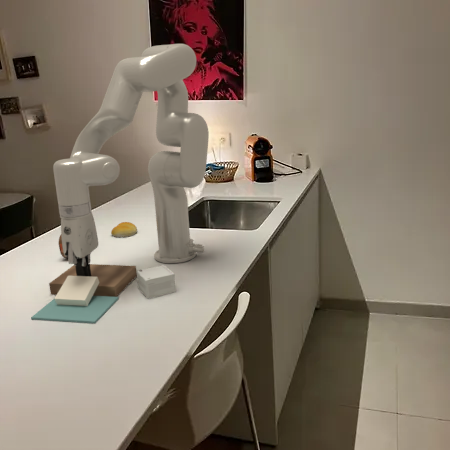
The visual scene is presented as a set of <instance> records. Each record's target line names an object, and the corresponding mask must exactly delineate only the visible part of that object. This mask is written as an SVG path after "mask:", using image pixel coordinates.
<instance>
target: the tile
mask: <svg viewBox="0 0 450 450" xmlns="http://www.w3.org/2000/svg"><path fill="white" fill-rule="evenodd" d="M99 283H100V282H99V280H98V277H91V276H68V277H67V278H66V280H65V282H64V283H63V285H62V287H61V288H60V290H59V292H58V293H57V295H55V297H54V298H55V301H56V303H57V304H58V305H76V306H88V304H89V302H90V300H91V298H92V296H93V294H94V292H95V290H96V288H97V286H98V284H99Z"/></svg>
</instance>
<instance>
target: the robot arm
mask: <svg viewBox="0 0 450 450" xmlns="http://www.w3.org/2000/svg"><path fill="white" fill-rule="evenodd" d="M196 67H197V56H196V53H195V51H194V49H192V47H190V46H189V45H188V44H185V43H173V44H171V43H170V44H161V45H153V46H149V47H147V48H145V49H144V50H143V52H142V53H141V56H135V57H126V58H124V59H122V60H120V61H118V62H117V64H116V65H115V68H114V70H113V73H112V76H111V79H110V81H109V84H108V86H107V89H106V92H105V95H104V96H103V100H102V102H101V103H102V104H101V105H100V108H99V110H98V112H97V113H96V114H95V115H94V116H93V117H92V118H91V119H90V120H89V122H88V123H87V124H86V125H85V127H84V128H83V129H82V130H81V132H80V133H79V135H78V136H77V138H76V140H75V143H74V145H73V148H72V150H71V154H70V157H69V158H63V159H59V160H56V161H55V162H54V164H53V167H52V171H53V175H54V176H53V177H54V184H55V190H56V198H57V203H58V213H59V218H60V233H61V234H60V235H61V237H62V246H63V252H64V255H65V257H67V258H66V259H67V261H68V265H74V266H75V267H76V274H77V276H91V269H90V264H91V253H92V252H94V250H96V249H97V248H98V247H99V238H98V232H97V226H96V222H95V217H94V215H93V212H92V206H91V205H92V204H91V199H90V197H91V196H90V189H89V188H90V187H95V186H96V187H97V186H106V185H110V184H112V183H114V182H115V181H116V180H117V179H118V178H119V176H120V172H121V168H120V164H119V162H118V160H117V159H115V158H114V157H113V156H110V155H108V154H101V153H100V151H101V149H102V147H103V146H104V144H105V143H106V142H107V141H108V140H109V139H110V138H111V137H113V136H114V135H116V134H117V133H119V132H121V131H124V130H125V129H126V128H128V127H129V126H130V125H132V123H133V121H134V118H135V115H136V112H137V109H138V106H139V103H140V101H141V98H142V96H143V93H144V92H151V93H152V92H157V108H156V111H157V112H156V124H155V136H156V140H157V141H158V142H159V143H160V144H161V145H163V146H166V147H172V148H180V149H179V150H180V151H170V150H164V151H161V150H160V151H158V152H156V153H155V154H153V155H152V156H151V157H150V159H149V161H148V166H147V173H148V175H149V176H148V177H149V179H150V183H151V187H152V191H153V198H154V210H155V221H156V231H157V241H158V250H156V251H155V252H154V254H153V256H154V260H155V261H157V262H159V263H163V264H178V263H185V262H188V261H190V260H193V259H194V258H195V257H196V256H197V253H199V254H204V253H205V246H203V244H201V243H198V244H197V243H196V244H195V243H194V239H193V238H191V235H190V233H191V232H190V221H189V207H188V205H189V204H188V195H187V192H186V189H194V188H197V187H198V186H200V185H201V183H202V182H203V181H204V179H205V175H206V170H207V163H208V162H207V160H208V149H209V148H208V147H209V128H208V123H207V121H206V119H205V118H204V117H203V116H202V115H200V114H198V113H195V112H189V92H188V89H187V86H186V84H185V82H184V79H185V80H186V79H187V78H188V77H190V76H191V75H192V74H193V73H194V71H195V69H196ZM185 188H186V189H185Z"/></svg>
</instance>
